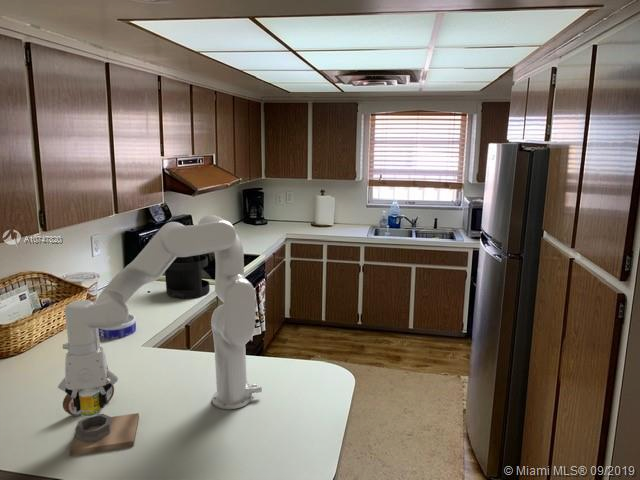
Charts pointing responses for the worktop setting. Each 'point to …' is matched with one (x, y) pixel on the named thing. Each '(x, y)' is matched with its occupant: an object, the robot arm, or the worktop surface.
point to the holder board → (112, 439)
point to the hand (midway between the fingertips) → (91, 406)
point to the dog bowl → (119, 329)
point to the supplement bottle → (89, 402)
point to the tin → (69, 408)
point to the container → (187, 277)
